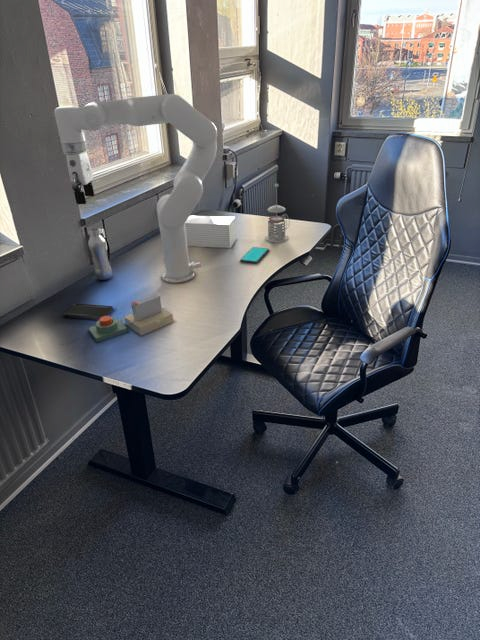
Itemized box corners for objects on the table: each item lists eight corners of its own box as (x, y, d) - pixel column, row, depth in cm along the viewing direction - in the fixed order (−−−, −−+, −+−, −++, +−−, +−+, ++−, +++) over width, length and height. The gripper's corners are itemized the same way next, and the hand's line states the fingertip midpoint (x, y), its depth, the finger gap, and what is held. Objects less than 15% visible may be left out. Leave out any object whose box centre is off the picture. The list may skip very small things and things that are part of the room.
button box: (118, 321, 152) (117, 312, 150) (127, 332, 146) (126, 322, 144) (88, 331, 147) (86, 322, 145) (96, 342, 141) (94, 332, 140)
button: (110, 319, 147) (109, 314, 146) (113, 323, 144) (112, 319, 144) (99, 322, 145) (97, 317, 145) (102, 327, 143) (101, 322, 142)
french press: (275, 233, 218) (275, 179, 206) (294, 238, 211) (295, 183, 199) (261, 239, 212) (260, 184, 200) (281, 245, 205) (281, 188, 193)
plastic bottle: (109, 282, 179) (98, 232, 169) (93, 281, 180) (81, 232, 170) (116, 275, 185) (106, 227, 175) (100, 274, 186) (90, 226, 176)
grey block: (157, 308, 152) (155, 293, 149) (162, 311, 150) (159, 295, 147) (133, 318, 147) (130, 302, 144) (137, 321, 145) (135, 305, 142)
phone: (74, 303, 162) (113, 306, 159) (75, 306, 163) (114, 309, 159) (62, 314, 155) (103, 317, 152) (63, 317, 156) (103, 320, 153)
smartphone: (268, 248, 200) (256, 261, 188) (268, 250, 200) (256, 263, 188) (252, 246, 202) (239, 259, 190) (253, 248, 203) (240, 261, 191)
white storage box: (236, 239, 214) (235, 217, 208) (230, 248, 205) (228, 224, 199) (171, 236, 221) (168, 214, 216) (163, 244, 212) (160, 222, 207)
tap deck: (155, 309, 158) (154, 301, 157) (177, 323, 149) (176, 314, 148) (121, 323, 151) (119, 314, 149) (142, 338, 142) (140, 329, 140)
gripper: (77, 152, 144) (89, 206, 152) (93, 142, 159) (103, 192, 167) (53, 153, 144) (66, 207, 152) (71, 143, 159) (82, 193, 167)
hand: (85, 199), depth 160 cm, fingers open, 9 cm apart
